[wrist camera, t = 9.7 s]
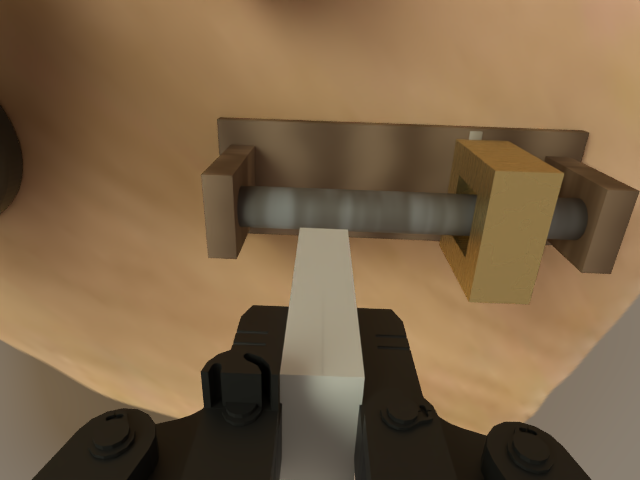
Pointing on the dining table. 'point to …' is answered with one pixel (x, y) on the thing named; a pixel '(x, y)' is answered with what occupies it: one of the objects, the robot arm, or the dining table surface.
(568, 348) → the dining table surface
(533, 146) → the pipe rig
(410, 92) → the dining table surface
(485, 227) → the collar
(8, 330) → the dining table surface
